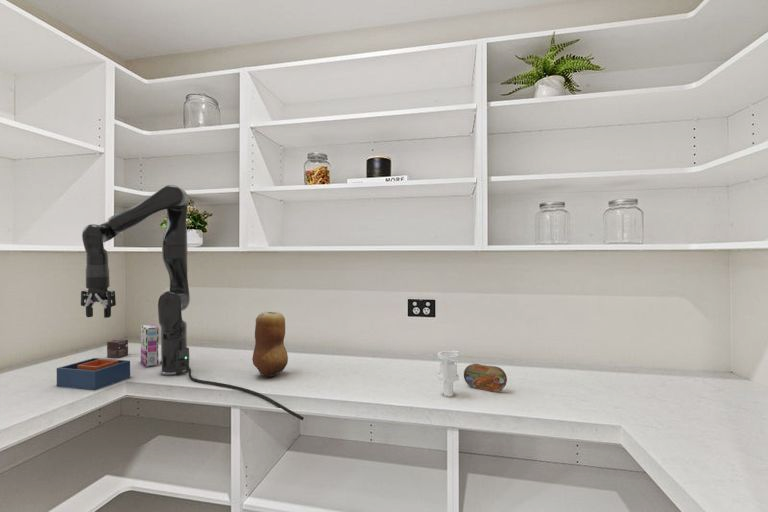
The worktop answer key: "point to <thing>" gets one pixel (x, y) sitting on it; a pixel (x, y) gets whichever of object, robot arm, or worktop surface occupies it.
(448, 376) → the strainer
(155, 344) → the candy bar box
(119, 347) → the box
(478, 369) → the tin
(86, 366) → the small bin
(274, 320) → the butternut squash
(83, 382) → the big bin
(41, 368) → the worktop surface
